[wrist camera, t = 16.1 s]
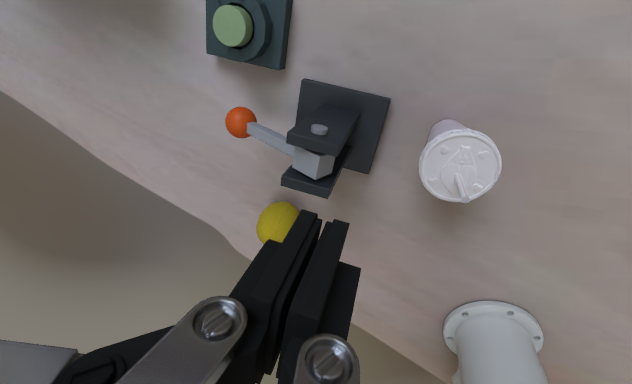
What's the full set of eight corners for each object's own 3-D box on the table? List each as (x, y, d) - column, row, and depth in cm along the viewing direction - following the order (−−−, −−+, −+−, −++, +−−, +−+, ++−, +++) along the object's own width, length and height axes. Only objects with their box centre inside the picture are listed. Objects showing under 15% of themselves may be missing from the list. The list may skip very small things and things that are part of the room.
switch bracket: (294, 150, 39) (249, 195, 28) (304, 78, 35) (257, 99, 24) (369, 170, 38) (353, 227, 27) (390, 98, 33) (381, 130, 22)
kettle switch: (243, 129, 34) (218, 134, 32) (244, 101, 33) (219, 104, 31) (333, 176, 28) (311, 186, 26) (340, 144, 27) (318, 152, 24)
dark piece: (292, -3, 31) (280, -6, 28) (284, 68, 35) (273, 72, 32) (214, -18, 33) (195, -23, 30) (214, 52, 36) (196, 54, 33)
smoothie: (411, 158, 36) (412, 222, 24) (422, 103, 33) (430, 144, 21) (469, 166, 34) (502, 237, 22) (487, 109, 31) (535, 156, 19)
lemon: (305, 229, 45) (286, 265, 38) (270, 219, 45) (245, 252, 39) (311, 198, 42) (291, 230, 35) (273, 187, 43) (247, 216, 36)
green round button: (254, 9, 30) (246, 8, 28) (252, 49, 32) (244, 50, 30) (221, 3, 31) (212, 1, 29) (221, 42, 32) (212, 42, 31)
